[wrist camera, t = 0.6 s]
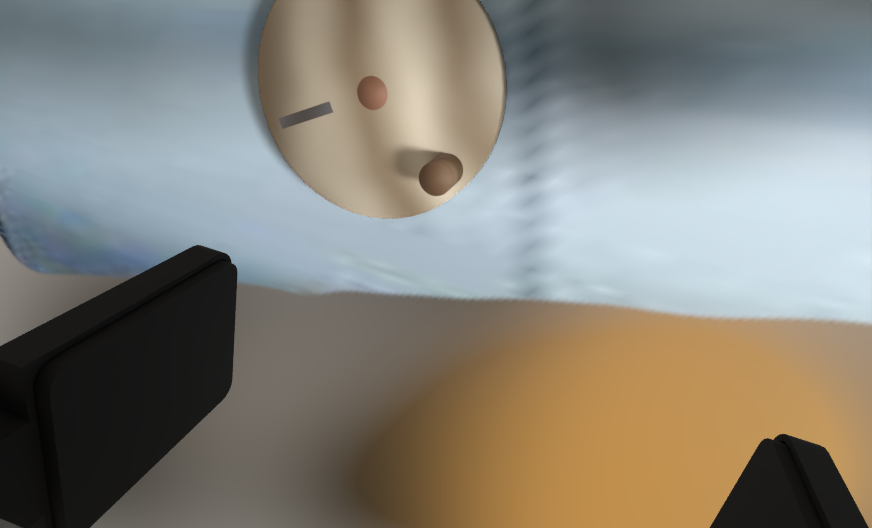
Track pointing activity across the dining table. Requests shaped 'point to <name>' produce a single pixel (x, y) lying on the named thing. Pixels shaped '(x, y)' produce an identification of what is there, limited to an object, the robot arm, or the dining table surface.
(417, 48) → the turntable
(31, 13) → the dining table surface
